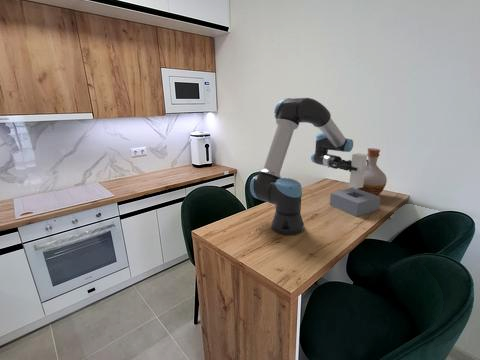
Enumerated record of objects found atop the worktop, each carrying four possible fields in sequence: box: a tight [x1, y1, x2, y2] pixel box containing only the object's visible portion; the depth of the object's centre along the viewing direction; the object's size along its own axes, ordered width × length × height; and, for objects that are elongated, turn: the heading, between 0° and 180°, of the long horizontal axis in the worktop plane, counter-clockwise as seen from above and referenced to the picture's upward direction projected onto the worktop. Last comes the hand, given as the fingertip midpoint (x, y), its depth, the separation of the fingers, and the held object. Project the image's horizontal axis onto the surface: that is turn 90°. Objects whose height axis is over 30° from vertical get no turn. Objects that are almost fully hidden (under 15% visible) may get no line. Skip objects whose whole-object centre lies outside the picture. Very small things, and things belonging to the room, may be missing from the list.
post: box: [348, 152, 368, 189], centre depth 135 cm, size 5×5×18 cm
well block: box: [329, 187, 381, 217], centre depth 140 cm, size 18×18×8 cm
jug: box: [358, 147, 388, 196], centre depth 153 cm, size 20×18×30 cm
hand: (366, 169), depth 130 cm, fingers closed on post, 5 cm apart
